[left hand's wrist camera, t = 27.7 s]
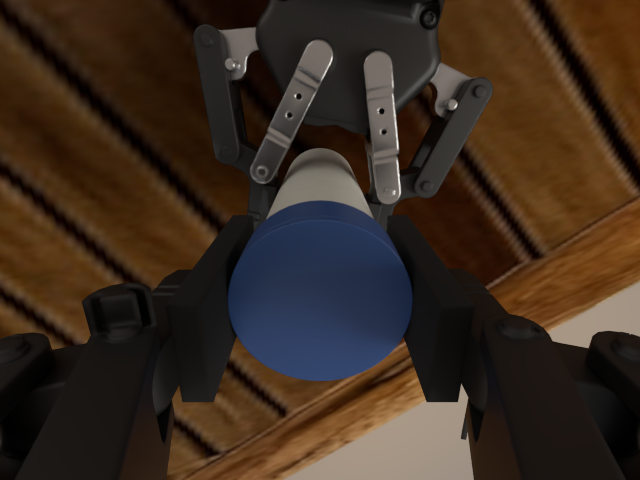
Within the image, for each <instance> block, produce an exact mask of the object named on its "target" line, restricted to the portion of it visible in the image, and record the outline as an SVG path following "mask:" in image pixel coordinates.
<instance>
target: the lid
mask: <svg viewBox="0 0 640 480" xmlns="http://www.w3.org/2000/svg"><path fill="white" fill-rule="evenodd" d="M227 299H228V309H229V317H230V321H231V324H232V327H233V329H234V331H235V333H236V335H237V337H238V338H239V340H240V341H241V343H242V344H243V346H244V347H245V348H246V349H247V350H248V351H249V352H250V354H252V355H253V356H254V357H255V358H256V359H257V360H258V361H260V362H261V363H263V364H264V365H266V366H267V367H269V368H271V369H273V370H275V371H277V372H279V373H282V374H284V375H287V376H290V377H294V378H298V379H304V380H313V381H328V380H336V379H342V378H346V377H350V376H353V375H356V374H359V373H361V372H363V371H365V370H367V369H369V368H371V367H373V366H375V365H376V364H378V363H379V362H381V361H382V360H383V359H384V358H385V357H387V356H388V355H389V354H390V353H391V352H392V351H393V350H394V348H395V347H396V346H397V345H398V343H399V342H400V341H401V339H402V337H403V336H404V334H405V332H406V330H407V327H408V325H409V322H410V319H411V312H412V302H413V292H412V285H411V281H410V277H409V275H408V273H407V270H406V268H405V266H404V264H403V262H402V260H401V258H400V256H399V254H398V252H397V250H396V248H395V246H394V244H393V242H392V240H391V239H390V237H389V236H388V234H387V232H386V231H385V230H384V229H383V228H382V226H381V225H380V224H379V223H378V222H376V221H375V220H374V219H373V218H372V217H370V216H369V215H367V214H366V213H365V212H363V211H361V210H359V209H357V208H355V207H352V206H350V205H347V204H344V203H339V202H334V201H324V200H317V201H306V202H301V203H297V204H294V205H291V206H288V207H286V208H284V209H281V210H279V211H278V212H276V213H274V214H273V215H271V216H270V217H269V218H267V219H266V220H265V221H264V222H263V223H262V224H261V225H260V226H259V227H258V228H257V229H256V230H255V232H254V233H253V235H252V236H251V238H250V239H249V241H248V243H247V245H246V247H245V249H244V251H243V253H242V255H241V257H240V259H239V261H238V263H237V265H236V267H235V269H234V271H233V273H232V276H231V279H230V283H229V287H228V294H227Z"/></svg>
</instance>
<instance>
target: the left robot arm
mask: <svg viewBox="0 0 640 480" xmlns="http://www.w3.org/2000/svg"><path fill="white" fill-rule="evenodd" d="M386 232H387V234H388V236H389V237H390V239H391V240H392V242H393V244H394V246H395V248H396V250H397V252H398V254H399V256H400V258H401V260H402V262H403V264H404V266H405V268H406V270H407V273H408V275H409V277H410V281H411V285H412V292H413V302H412V312H411V319H410V322H409V325H408V327H407V330H406V332H405V334H404V339H405V342H406V344H407V347H408V350H409V353H410V356H411V359H412V361H413V364H414V367H415V370H416V373H417V376H418V379H419V381H420V384H421V387H422V390H423V393H424V396H425V398H426V401H427V402H458V398H459V392H460V387H461V383H462V385H463V387H464V389H465V391H466V393H467V395H468V397H469V398H468V403H467V408H466V413H465V419H464V424H463V429H462V435H461V439H465V440H466V437H467V432H468V437H469V445H470V452H471V460H472V468H473V475H474V480H640V337H639V336H636V335H633V334H631V335H629V333H624V332H614V331H604V332H598V333H596V334H595V335H593V337H592V340H591V343H590V346H589V348H584V347H578V346H573V345H568V344H562V343H557V342H553V341H552V339H551V337H550V335H549V334H548V333H547V332H546V331H545V329H544V328H543V327H541V326H540V325H538V324H537V323H535V322H533V321H531V320H529V319H526V318H524V317H521V316H516V315H512V314H508V313H507V312H506V310H505V309H504V308H503V307H502V306H501V305H500V304H499V302H498V301H497V300H496V299H495V298H494V297H493V296H492V295H491V294H490V292H489V291H488V290H487V289H486V288H485V287H483V284H482V283H481V282H480V281H479V280H478V279H477V277H476V276H474V275H472V274H471V273H469V272H467V271H465V270H464V269H447V268H446V266H445V265H444V264H443V262H442V261H441V260H440V258H439V257H438V256H437V254H436V253H435V252H434V250H433V249H432V248H431V246H430V245H429V244H428V242H427V241H426V240H425V238H424V237H423V236H422V234H421V233H420V232H419V230H418V229H417V228H416V226H415V225H414V224H413V222H412V221H411V220H410V218H409V217H408V216H407V215H388V217H387V231H386ZM253 233H254V228H253V215H233V216H232V217H231V219H230V220H229V221H228V223H227V224H226V225H225V227H224V228H223V229H222V231H221V232H220V233H219V235H218V236H217V237H216V239H215V240H214V241H213V243H212V244H211V245H210V247H209V248H208V249H207V251H206V252H205V253H204V255H203V256H202V257H201V259H200V260H199V261H198V263H197V264H196V265H195V267H194V268H193V269H192V270H177V271H175V272H174V273H172V274H170V275H168V276H167V277H165V278H164V279H163V280H162V282H161V283H160V284H159V285H158V286H157V288H155V290H154V291H153V292H152V293H151V290H150V288H149V287H148V286H146V285H145V284H140V283H122V284H117V285H112V286H109V287H106V288H103V289H100V290H98V291H96V292H94V293H92V294H90V295H88V296H87V297H86V298H85V299H84V300H83V301H82V304H83V308H84V312H85V315H86V319H87V323H88V326H89V330H90V333H91V336H90V338H89V340H88V342H87V343H85V344H81V345H76V346H71V347H65V348H60V349H55V350H52V348H51V345H50V342H49V339H48V337H46V336H45V335H44V334H40V333H24V334H15V335H12V336H7V337H4V338H1V339H0V480H166V476H167V469H168V461H169V453H170V445H171V438H172V430H173V422H174V408H173V403H172V398H173V396H174V394H175V392H176V390H177V388H178V386H180V391H181V397H182V402H214V399H215V396H216V393H217V390H218V388H219V385H220V382H221V379H222V376H223V373H224V371H225V368H226V365H227V362H228V359H229V356H230V354H231V351H232V348H233V345H234V342H235V339H236V337H237V335H236V333H235V331H234V329H233V327H232V324H231V321H230V317H229V309H228V299H227V294H228V287H229V283H230V279H231V276H232V273H233V271H234V269H235V267H236V265H237V263H238V261H239V259H240V257H241V255H242V253H243V251H244V249H245V247H246V245H247V243H248V241H249V239H250V238H251V236H252V235H253Z"/></svg>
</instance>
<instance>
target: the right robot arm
mask: <svg viewBox="0 0 640 480" xmlns="http://www.w3.org/2000/svg"><path fill="white" fill-rule="evenodd" d="M444 2H445V0H269V2H268V4H267V7H266V9H265V10H264V12H263V14H262V15H261V16H260V18H259V20H258V22H257V25H256V27H251V28H241V29H231V30H217V29H216V28H214V27H213V26H211V25H208V24H203V25H200V26H199V27H198V28H197V29H196V30H195V32H194V35H193V41H194V47H195V52H196V58H197V63H198V68H199V74H200V79H201V84H202V90H203V95H204V101H205V106H206V111H207V117H208V122H209V127H210V133H211V138H212V143H213V149H214V154H215V157H216V158H217V160H218V161H219V162H221V163H222V164H226V165H232V166H234V167H235V168H237V169H239V170H241V171H242V172H244V173H245V174H246V175H247V177H248V179H249V181H250V191H249V201H248V212H247V215H253V228H254V232H255V230H256V229H257V228H258V227H259V226H260V225H261V224H262V223H263V222H264V221H265V220H266V218H267V216H268V214H269V212H270V209H271V207H272V205H273V203H274V201H275V198H276V196H277V194H278V192H279V190H280V183H281V179H280V178H277V176H278V169H279V167H280V165H281V163H282V161H283V159H284V157H285V155H286V153H287V151H288V149H289V147H290V145H291V143H292V142H293V140H294V138H295V136H296V134H297V132H298V130H299V128H300V126H301V124H302V122H303V124H308V125H314V126H329V125H338V126H340V127H342V128H344V129H346V130H348V131H350V132H354V133H359V134H363V135H364V142H365V149H366V153H367V159H368V166H369V174H370V182H371V185H370V190H369V193H364V198H365V200H366V202H367V205H368V207H369V209H370V211H371V213H372V216H373V218H374V220H375V221H376V222H378V223H379V224H380V225H381V226H382V228H383V229H384V230H385V231H387V217H388V215H392V212H393V209H394V207H395V205H396V204H397V203H398V202H399V201H401V200H403V199H406V198H411V197H416V196H420V197H422V198H430V197H432V196H433V195H435V194H436V192H437V191H438V189H439V187H440V186H441V184H442V182H443V180H444V179H445V177H446V175H447V173H448V172H449V170H450V168H451V166H452V164H453V163H454V161H455V159H456V157H457V156H458V154H459V152H460V150H461V149H462V147H463V145H464V143H465V142H466V140H467V138H468V136H469V135H470V133H471V131H472V129H473V128H474V126H475V124H476V122H477V121H478V119H479V117H480V115H481V114H482V112H483V110H484V108H485V106H486V105H487V103H488V101H489V99H490V98H491V96H492V93H493V86H492V83H491V82H490V80H488V79H487V78H484V77H479V78H476V77H474V78H470V77H468V76H466V75H464V74H462V73H460V72H459V71H457V70H455V69H453V68H451V67H449V66H447V65H445V64H443V63H441V53H440V49H439V44H438V25H439V21H440V17H441V14H442V10H443V6H444ZM257 53H261V55H262V57H263V59H264V61H265V63H266V65H267V67H268V69H269V71H270V73H271V75H272V77H273V79H274V81H275V83H276V85H277V87H278V89H279V91H280V93H281V95H282V97H283V98H282V100H281V102H280V105H279V107H278V109H277V111H276V113H275V115H274V117H273V119H272V121H271V123H270V125H269V128H268V130H267V133H266V136H265V138H264V140H263V142H262V144H261V146H260V148H259V147H257V146H255V145H253V144H252V143H250V142H248V140H247V133H246V127H245V120H244V113H243V107H242V100H241V93H240V87H239V81H241V80H244V79H245V78H246V77H247V76H248V74H249V72H250V62H251V59H252V57H253V56H254V55H255V54H257ZM427 85H429V86H430V88H431V90H432V98H431V101H430V111H431V113H432V114H433V115H435V117H434V119H433V121H432V123H431V125H430V127H429V129H428V131H427V133H426V134H425V136H424V138H423V140H422V142H421V144H420V146H419V148H418V150H417V152H416V153H415V155H414V157H413V159H412V161H411V163H410V165H409V167H408V169H404V170H399V165H398V155H399V144H398V133H397V123H396V115H397V114H398V113H399V112H400V111H401V110H402V109H403V108H404V107H405V106H406V105H407V104H408V103H409V102H410V101H411V100H412V99H413V98H414V97H415V96H416V95H417V94H419V93H420V92H421V91H422V90H423V89H424V88H425V87H426V86H427Z"/></svg>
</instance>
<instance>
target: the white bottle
mask: <svg viewBox="0 0 640 480" xmlns="http://www.w3.org/2000/svg"><path fill="white" fill-rule="evenodd" d="M317 200H324V201H334V202H339V203H344V204H347V205H350V206H352V207H355V208H357V209H359V210H361V211H363V212H365V213H366V214H367V215H369V216H370V217H372V218H373V216H372V213H371V211H370V209H369V207H368V205H367V202H366V200H365V198H364V196H363V194H362V191H361V189H360V187H359V185H358V183H357V180H356V178H355V176H354V174H353V172H352V169H351V167H350V165H349V164H348V162H347V161H346V160H345V159H344V158H343V157H342V156H341V155H340V154H338V153H337V152H335V151H333V150H330V149H325V148H315V149H311V150H308V151H305V152H303V153H302V154H300V155H299V156H298V157H297V158H296V159H295V160H294V161H293V162H292V164H291V166H290V167H289V170H288V172H287V174H286V176H285V178H284V181H283V183H282V185H281V187H280V190H279V192H278V194H277V196H276V198H275V201H274V203H273V205H272V207H271V209H270V212H269V214H268V216H267V218H269V217H270V216H271V215H273V214H274V213H276V212H278V211H279V210H281V209H284V208H286V207H288V206H291V205H294V204H297V203H301V202H306V201H317ZM267 218H266V219H267ZM373 219H374V218H373Z"/></svg>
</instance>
